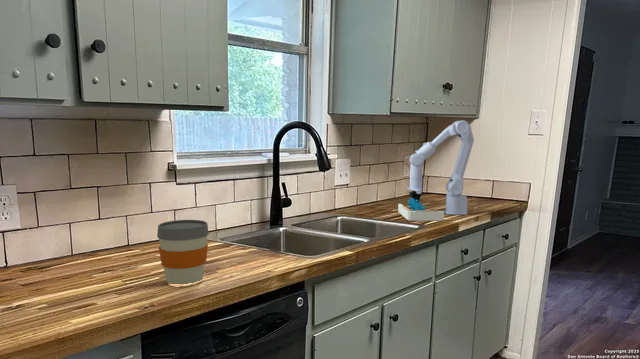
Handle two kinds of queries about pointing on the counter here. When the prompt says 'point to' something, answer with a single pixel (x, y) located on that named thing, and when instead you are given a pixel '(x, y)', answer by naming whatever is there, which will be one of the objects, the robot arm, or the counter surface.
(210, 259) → the counter surface
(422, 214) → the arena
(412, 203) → the blue toy dinosaur
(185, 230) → the reusable coffee cup
